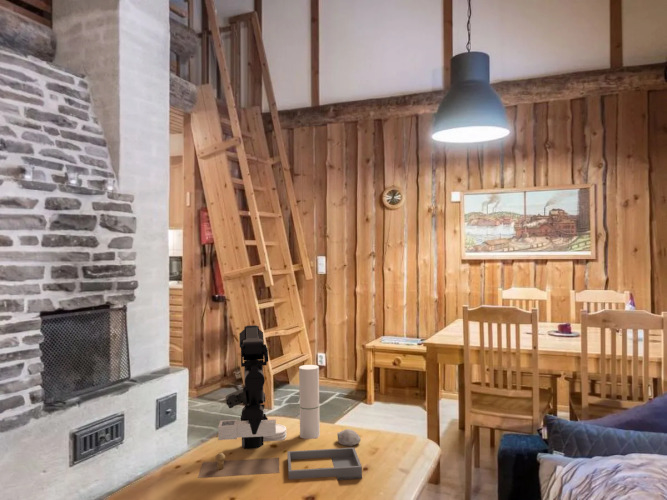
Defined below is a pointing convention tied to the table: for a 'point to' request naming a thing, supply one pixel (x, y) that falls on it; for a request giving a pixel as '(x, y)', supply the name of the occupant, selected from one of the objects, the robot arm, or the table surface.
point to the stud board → (238, 467)
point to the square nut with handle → (244, 429)
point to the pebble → (348, 437)
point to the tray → (343, 468)
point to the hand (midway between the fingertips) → (254, 432)
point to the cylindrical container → (309, 401)
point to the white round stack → (277, 434)
